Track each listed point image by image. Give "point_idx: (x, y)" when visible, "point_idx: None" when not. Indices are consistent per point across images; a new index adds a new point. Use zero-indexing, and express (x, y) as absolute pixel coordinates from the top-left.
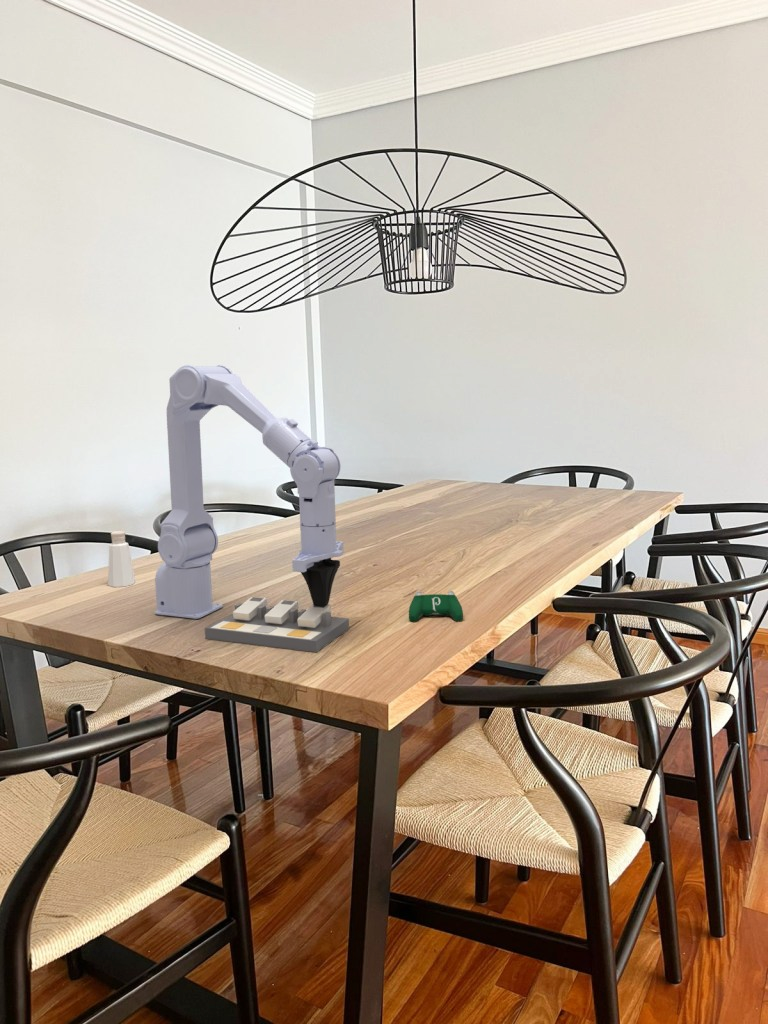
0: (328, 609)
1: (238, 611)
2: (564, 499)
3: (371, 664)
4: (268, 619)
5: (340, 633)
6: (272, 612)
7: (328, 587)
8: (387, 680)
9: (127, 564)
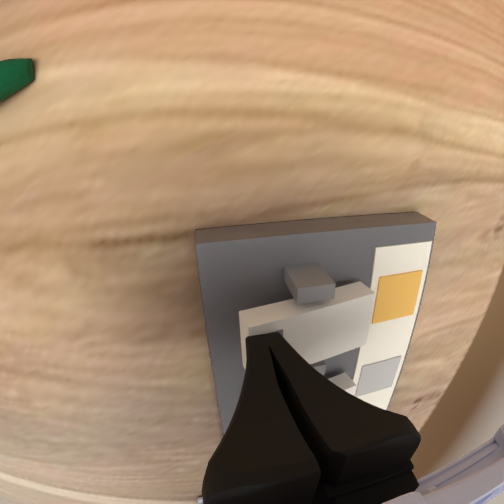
0: (265, 315)
1: None
2: None
3: (443, 45)
4: None
5: (268, 224)
6: None
7: (291, 378)
8: (486, 6)
9: None
